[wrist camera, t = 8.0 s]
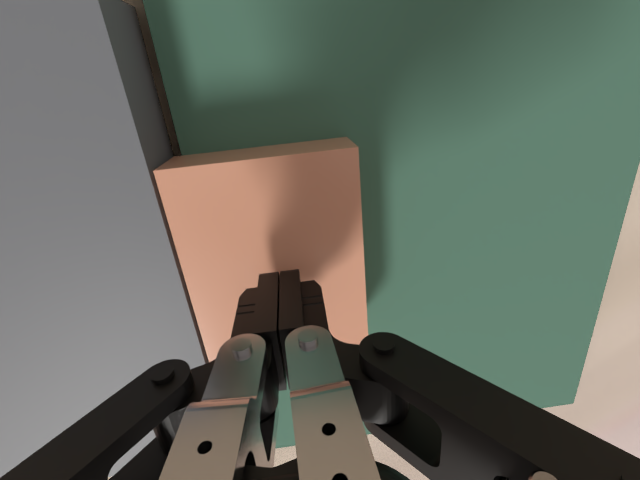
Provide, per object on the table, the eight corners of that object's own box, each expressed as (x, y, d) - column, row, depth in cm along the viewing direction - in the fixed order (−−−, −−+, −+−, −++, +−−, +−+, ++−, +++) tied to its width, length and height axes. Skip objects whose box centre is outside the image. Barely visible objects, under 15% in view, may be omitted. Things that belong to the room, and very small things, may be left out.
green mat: (122, -104, 12) (114, -114, 11) (708, -150, 12) (727, -161, 12) (256, 442, 22) (256, 451, 22) (566, 395, 23) (573, 403, 23)
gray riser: (-288, 46, 12) (-454, 35, 9) (134, 7, 13) (94, -13, 10) (-8, 444, 20) (-53, 501, 18) (239, 408, 21) (233, 457, 18)
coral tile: (173, 156, 14) (153, 170, 12) (346, 136, 15) (358, 146, 12) (221, 335, 18) (211, 372, 16) (358, 317, 18) (368, 350, 16)
